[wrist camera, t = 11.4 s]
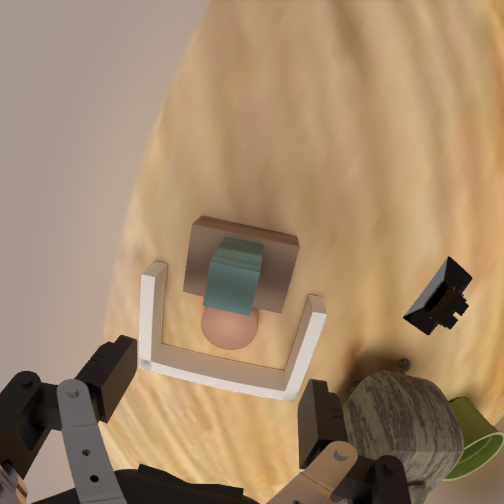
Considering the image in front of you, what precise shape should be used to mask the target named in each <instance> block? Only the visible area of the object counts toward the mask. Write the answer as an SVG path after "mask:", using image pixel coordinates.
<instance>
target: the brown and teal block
mask: <svg viewBox="0 0 504 504" xmlns="http://www.w3.org/2000/svg"><path fill="white" fill-rule="evenodd" d="M298 250H299V244H298V240H297V236H293V235H289V234H284V233H280V232H275V231H271V230H266V229H262V228H257V227H253V226H248V225H243V224H239V223H234V222H229V221H224V220H220V219H215V218H210V217H205V216H201V217H200V218H199V219H198V220H196V221H195V222H194V223H193V224H192V230H191V237H190V243H189V250H188V257H187V265H186V272H185V280H184V288H183V292H187V293H192V294H196V295H200V296H204V302H203V306H206V307H210V308H214V309H219V310H223V311H228V312H232V313H237V314H241V315H246V316H250V314H251V310H252V307H254V308H258V309H263V310H268V311H273V312H278V313H282V309H283V305H284V302H285V298H286V295H287V291H288V287H289V284H290V280H291V276H292V272H293V269H294V265H295V261H296V257H297V254H298Z"/></svg>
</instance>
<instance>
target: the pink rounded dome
mask: <svg viewBox="0 0 504 504" xmlns="http://www.w3.org/2000/svg"><path fill="white" fill-rule="evenodd" d="M257 323H258V309H257V308H254V307H252V310H251V314H250V316H246V315H241V314H237V313H232V312H228V311H223V310H219V309H214V308H210V307H206V309H205V312H204V314H203V316H202V320H201V328H202V331H203V334H204V335H205V337H206V338H207V339H208V340H209V341H210V342H211V343H212V344H214V345H215V346H217V347H219V348H222V349H228V350H236V349H240V348H243V347H245V346H247V345H248V344H250V343H251V342H252V340H253V339H254V337H255V335H256V332H257Z"/></svg>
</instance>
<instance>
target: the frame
mask: <svg viewBox="0 0 504 504" xmlns="http://www.w3.org/2000/svg"><path fill="white" fill-rule="evenodd" d="M167 265H168V264H166V263H161V262H157V261H155V262H154V263H153V264H152V265H151V266H150V267H149V268H147V269H146V270H145V271H144V272H143V273H142V277H141V296H140V323H139V367H141V368H144V369H147V370H150V371H154V372H157V373H161V374H164V375H168V376H171V377H175V378H179V379H183V380H187V381H190V382H194V383H199V384H203V385H207V386H211V387H216V388H220V389H225V390H230V391H234V392H239V393H244V394H250V395H255V396H261V397H267V398H273V399H279V400H285V401H292V402H294V401H295V398H296V396H297V393H298V391H299V389H300V386H301V384H302V381H303V379H304V376H305V373H306V371H307V368H308V366H309V363H310V361H311V358H312V355H313V353H314V350H315V347H316V344H317V342H318V339H319V336H320V333H321V331H322V328H323V325H324V322H325V319H326V316H327V312H326V309H325V305H324V302H323V299H322V297H319V296H314V295H309V297H308V300H307V303H306V307H305V310H304V313H303V316H302V320H301V323H300V326H299V329H298V332H297V335H296V338H295V341H294V345H293V348H292V351H291V354H290V357H289V360H288V363H287V365H286V368H285V370H279V369H273V368H268V367H262V366H257V365H252V364H247V363H242V362H237V361H232V360H228V359H223V358H218V357H214V356H210V355H205V354H201V353H197V352H193V351H189V350H185V349H181V348H177V347H174V346H170V345H166V344H162V343H161V337H162V322H163V308H164V296H165V285H166V275H167Z"/></svg>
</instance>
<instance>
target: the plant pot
mask: <svg viewBox="0 0 504 504" xmlns="http://www.w3.org/2000/svg"><path fill="white" fill-rule="evenodd" d="M450 404H451V406H452V408H453V411H454V413H455V415H456V417H457V420H458V422H459V424H460V427H461V431H462V434H463V438H464V453H463V455H462V457H461V459H460V460H459V462H458V464H457V465H456V466H455V468H454V469H453V470H452V471H451V472H450V473H449V474H448V475H447V476H446V477H445V478H444V479H443V481H451V480H456V479H459V478H462V477H464V476H466V475H468V474H470V473H472V472H474V471H476V470H477V469H479V468H480V467H482V466H483V465H484V464H485V463H487V462H488V461H489V460H490V459H492V458H493V457H494V456H495V455H496V454H497V452H498V451H499V450H500V449H501V447H502V446H503V444H504V433H503V432H499V431H498V430H497V429H496V428H495V427H494V426H492V425H491V424H490V423H489V422H488V421H487V420H486V419H485V418H484V417H483V415H482V414H481V413H480V412H479V411H478V410H477V409H476V408H475V407H474V406H473V404H472V403H471V402H470V401H469V400H468V399H466V398H457V399H455V400H454V401H453V402H450Z"/></svg>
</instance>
